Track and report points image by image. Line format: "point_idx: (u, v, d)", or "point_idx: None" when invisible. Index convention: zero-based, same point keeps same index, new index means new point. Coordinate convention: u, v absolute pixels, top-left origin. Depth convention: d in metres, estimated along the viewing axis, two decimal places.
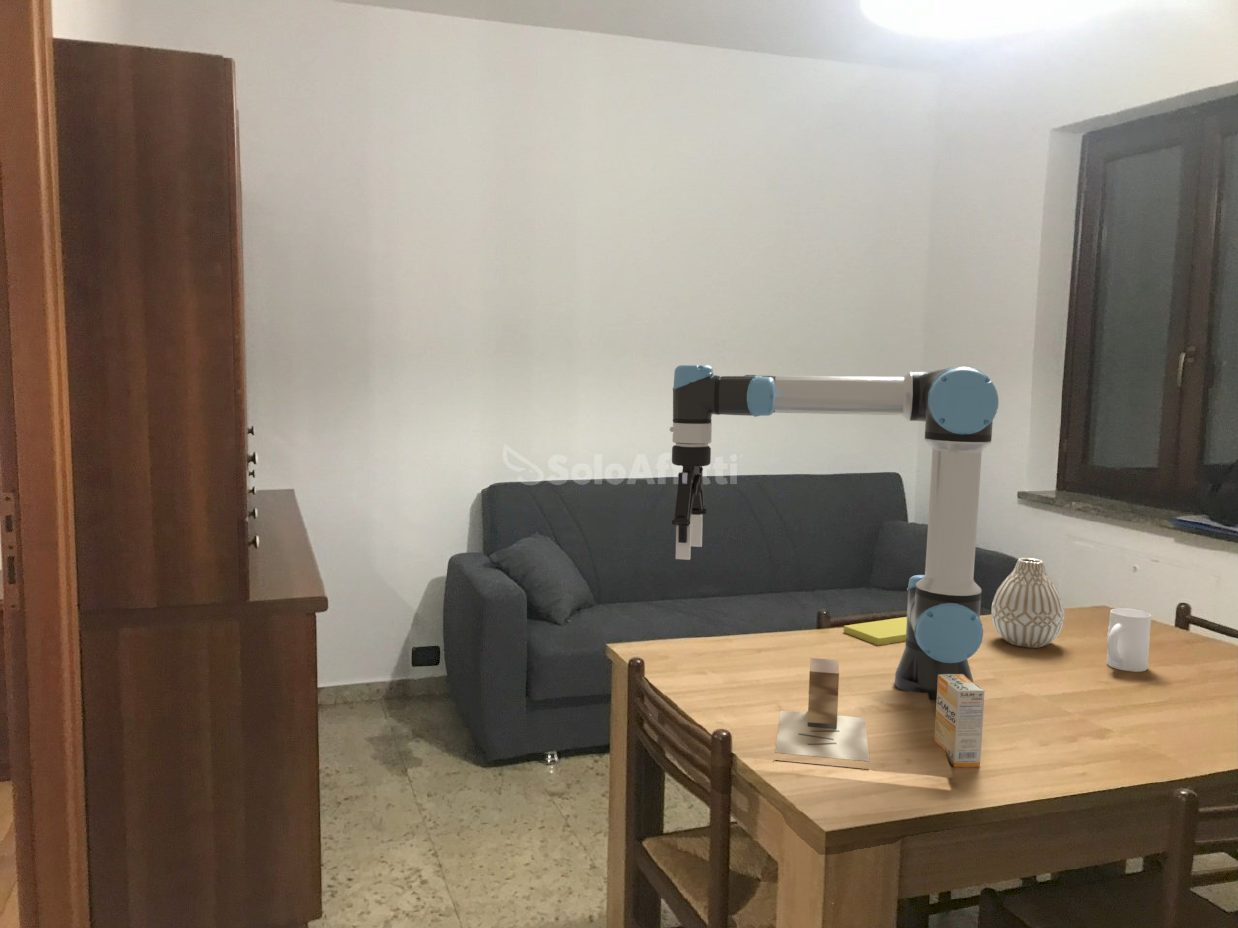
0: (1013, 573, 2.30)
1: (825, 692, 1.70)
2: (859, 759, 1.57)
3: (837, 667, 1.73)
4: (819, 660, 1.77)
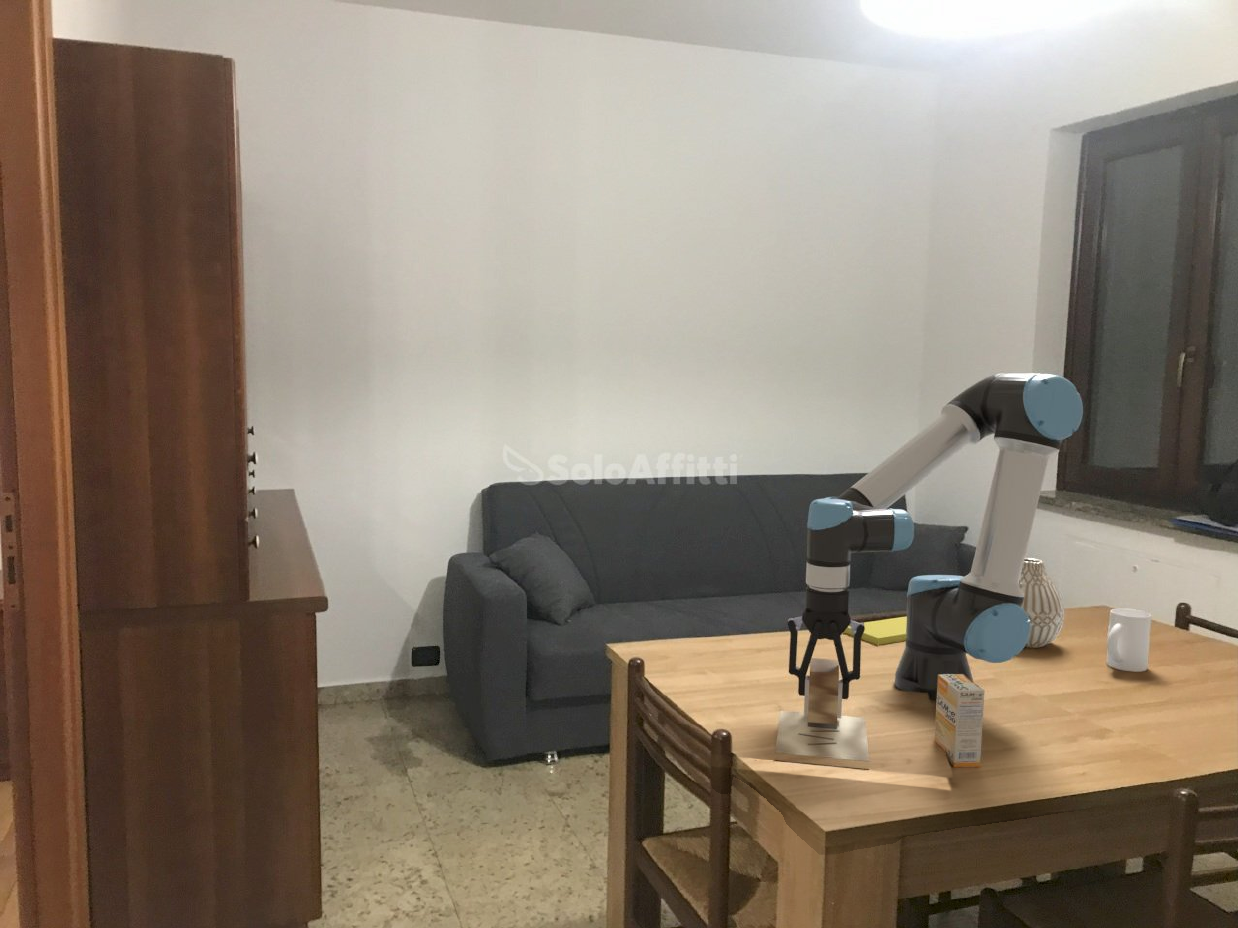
0: None
1: (825, 692, 1.70)
2: (859, 759, 1.57)
3: (837, 667, 1.73)
4: (819, 660, 1.77)
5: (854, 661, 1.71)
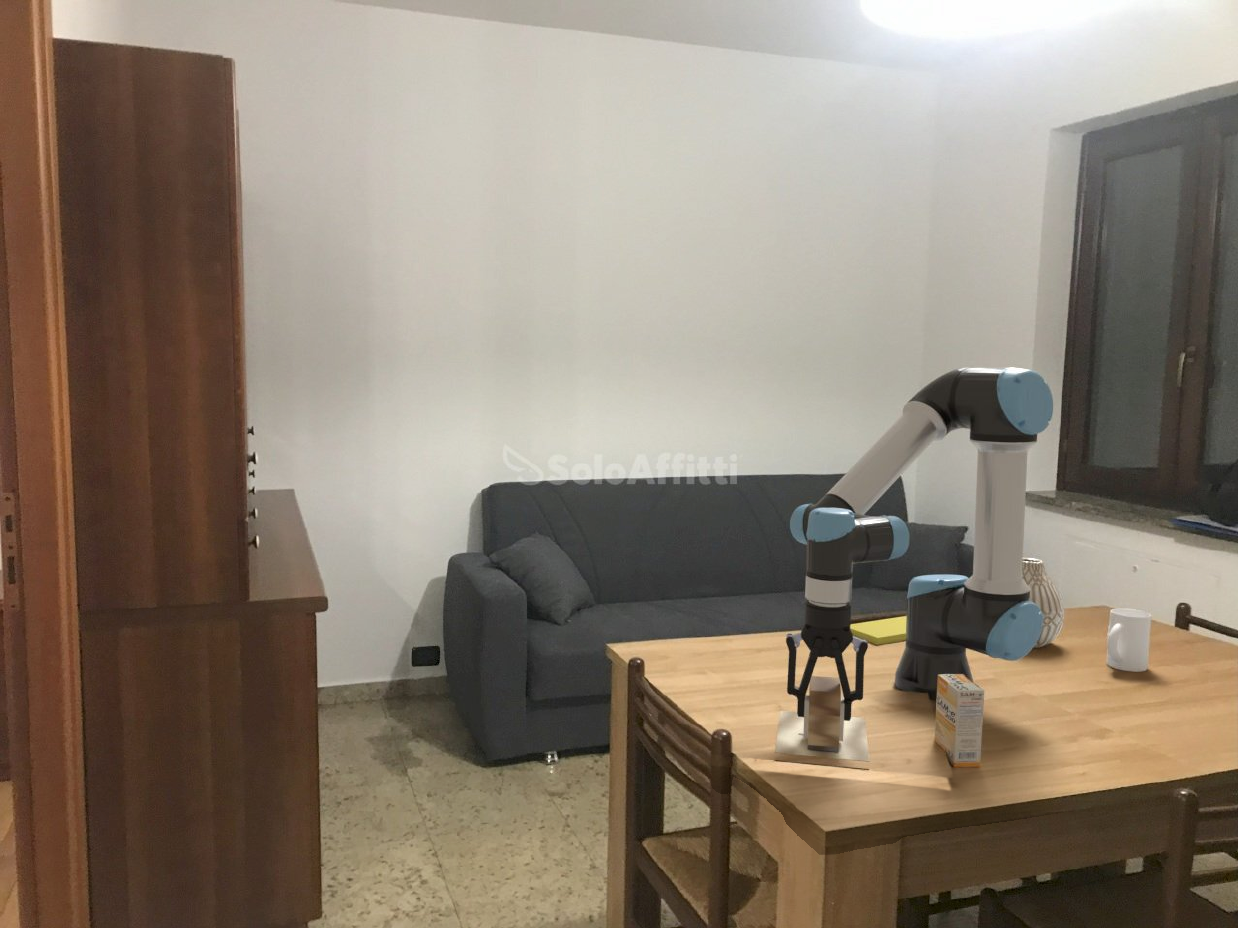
0: None
1: (826, 713, 1.60)
2: (859, 759, 1.57)
3: (839, 686, 1.62)
4: (819, 678, 1.66)
5: (857, 680, 1.61)
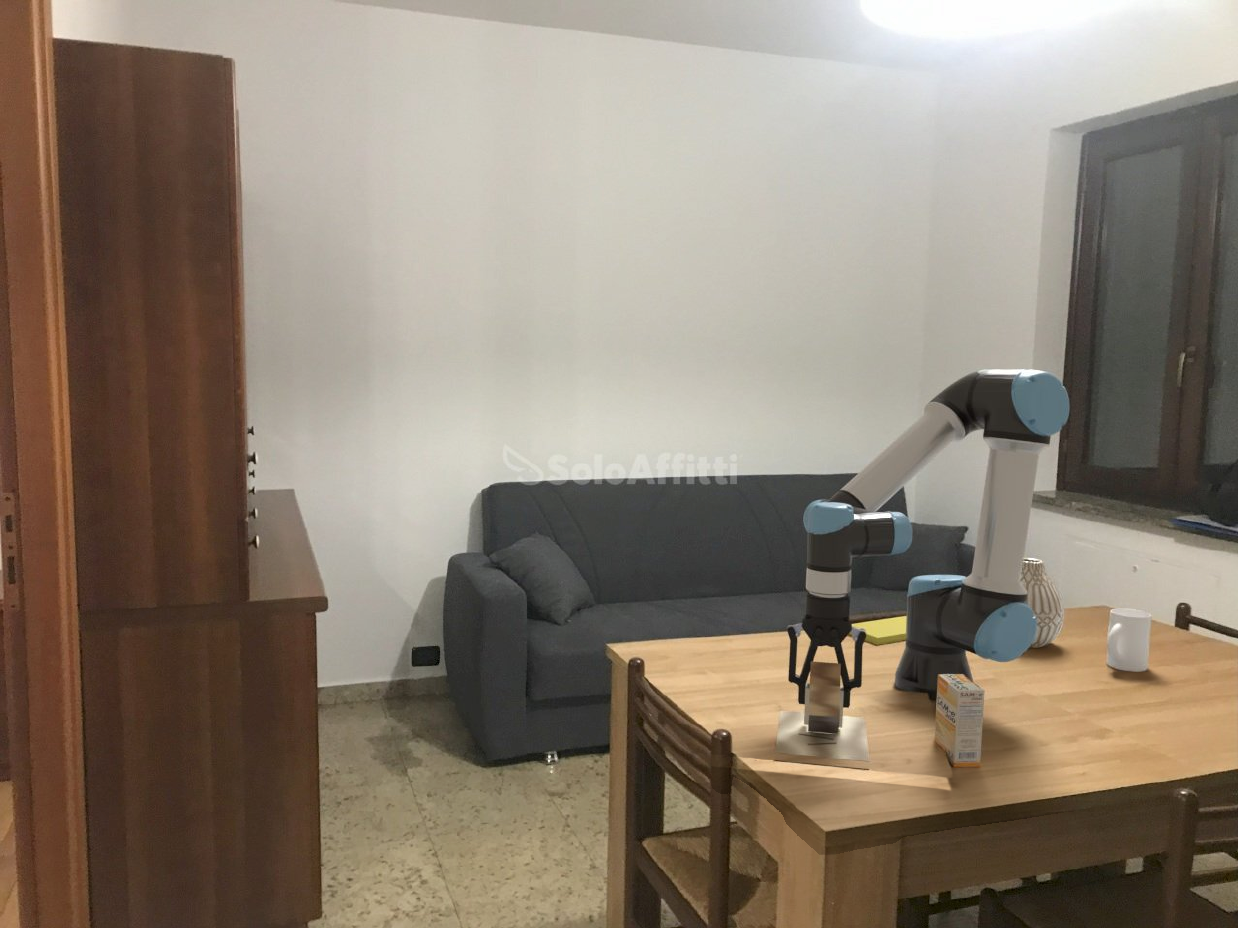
0: None
1: (827, 683, 1.65)
2: (859, 759, 1.57)
3: None
4: None
5: (855, 669, 1.67)
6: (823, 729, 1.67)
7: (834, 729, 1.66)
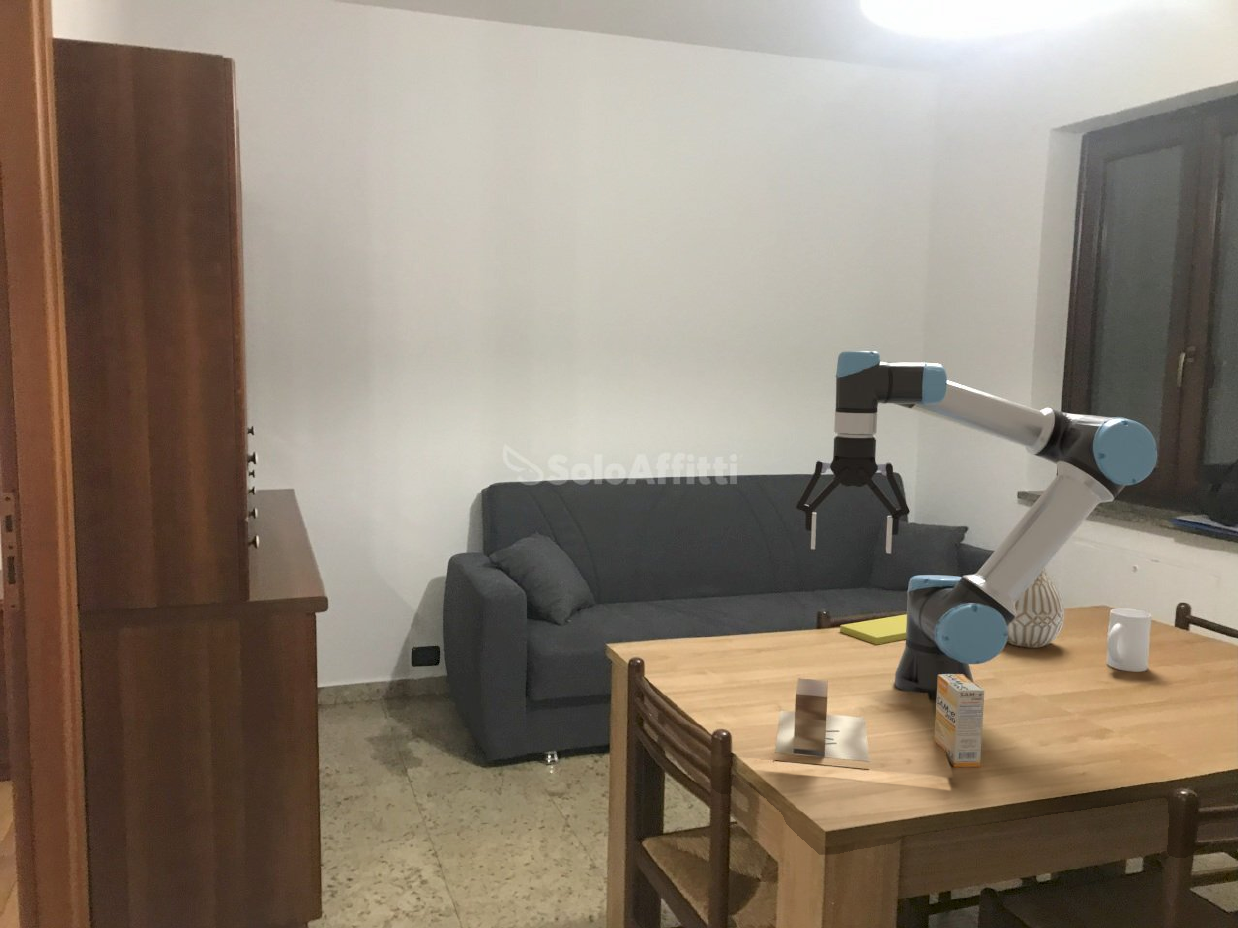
0: None
1: (812, 717, 1.58)
2: (859, 759, 1.57)
3: (826, 689, 1.61)
4: (807, 681, 1.65)
5: (897, 499, 1.77)
6: None
7: None
